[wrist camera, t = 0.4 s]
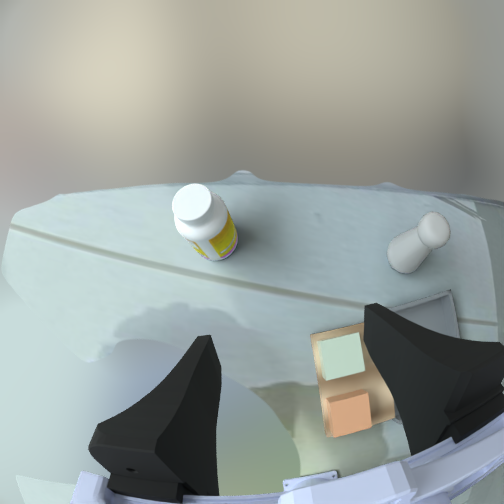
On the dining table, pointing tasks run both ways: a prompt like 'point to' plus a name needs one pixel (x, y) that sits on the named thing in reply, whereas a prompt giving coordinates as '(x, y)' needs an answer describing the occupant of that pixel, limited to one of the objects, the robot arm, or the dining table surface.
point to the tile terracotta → (349, 412)
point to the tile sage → (341, 356)
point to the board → (354, 380)
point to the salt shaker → (418, 243)
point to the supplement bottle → (204, 222)
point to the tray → (430, 318)
